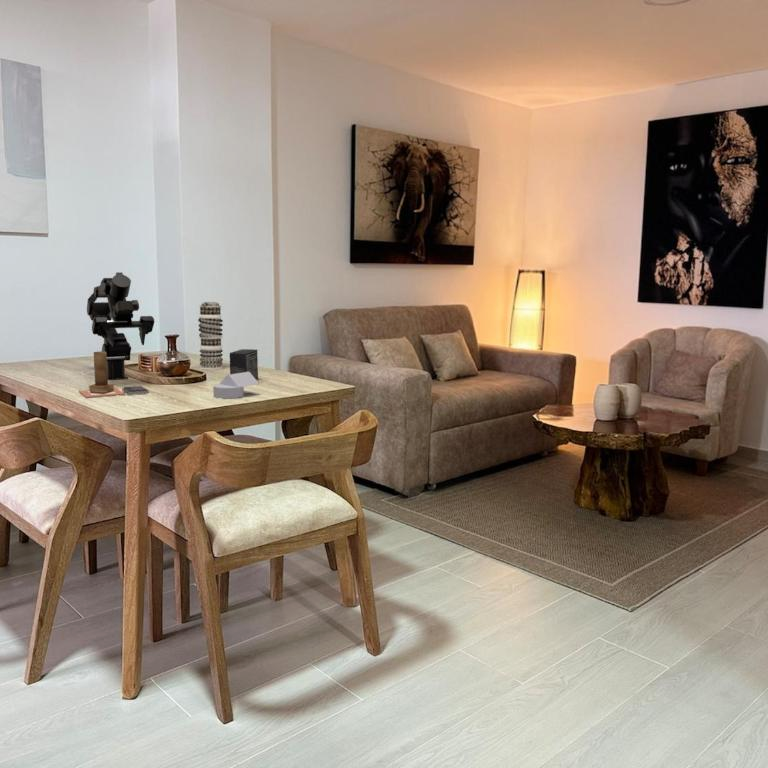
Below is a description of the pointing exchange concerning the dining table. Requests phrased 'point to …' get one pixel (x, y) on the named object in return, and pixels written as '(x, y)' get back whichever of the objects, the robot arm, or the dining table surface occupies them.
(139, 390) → the ink pad
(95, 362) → the stamp
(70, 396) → the dining table surface
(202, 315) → the decorative candle
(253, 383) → the wedge on round base
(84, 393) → the print card
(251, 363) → the small box
